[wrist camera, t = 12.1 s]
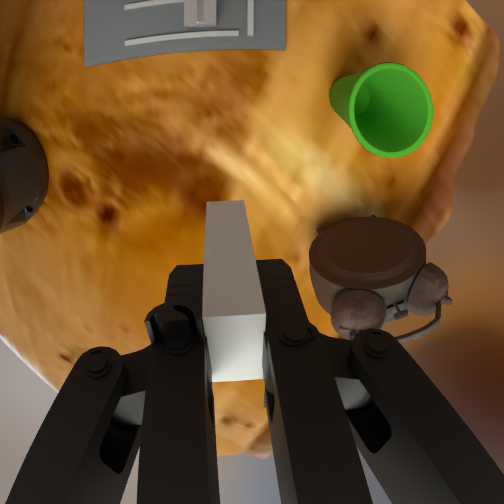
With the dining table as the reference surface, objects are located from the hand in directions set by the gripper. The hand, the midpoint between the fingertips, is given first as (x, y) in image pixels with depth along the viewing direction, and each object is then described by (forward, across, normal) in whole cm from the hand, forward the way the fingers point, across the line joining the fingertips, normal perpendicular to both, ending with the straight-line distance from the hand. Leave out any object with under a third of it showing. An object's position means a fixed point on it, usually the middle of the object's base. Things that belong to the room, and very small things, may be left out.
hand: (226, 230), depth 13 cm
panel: (+24, -4, +18) cm, 31 cm away
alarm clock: (+25, +17, -15) cm, 33 cm away
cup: (+25, +15, +4) cm, 29 cm away
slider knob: (+23, -2, +13) cm, 27 cm away
